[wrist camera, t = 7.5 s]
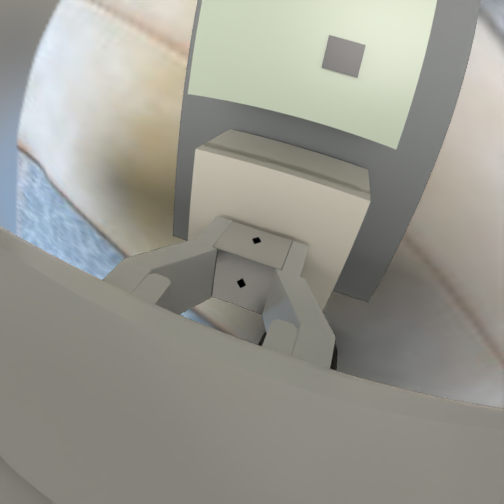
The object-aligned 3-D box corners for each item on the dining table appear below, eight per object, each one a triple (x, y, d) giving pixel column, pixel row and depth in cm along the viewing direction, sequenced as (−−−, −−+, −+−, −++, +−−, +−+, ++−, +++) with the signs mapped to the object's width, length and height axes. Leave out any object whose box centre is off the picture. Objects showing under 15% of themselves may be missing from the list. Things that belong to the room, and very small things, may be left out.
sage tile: (256, -53, 6) (219, -85, 4) (422, -17, 5) (445, -45, 3) (228, 84, 9) (185, 94, 7) (385, 127, 9) (396, 150, 6)
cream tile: (230, 129, 11) (193, 150, 9) (368, 169, 10) (370, 202, 8) (214, 241, 14) (184, 280, 12) (325, 279, 13) (315, 327, 11)
